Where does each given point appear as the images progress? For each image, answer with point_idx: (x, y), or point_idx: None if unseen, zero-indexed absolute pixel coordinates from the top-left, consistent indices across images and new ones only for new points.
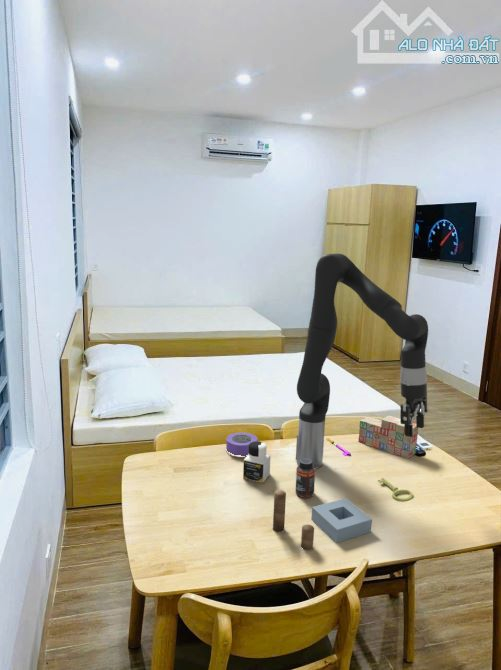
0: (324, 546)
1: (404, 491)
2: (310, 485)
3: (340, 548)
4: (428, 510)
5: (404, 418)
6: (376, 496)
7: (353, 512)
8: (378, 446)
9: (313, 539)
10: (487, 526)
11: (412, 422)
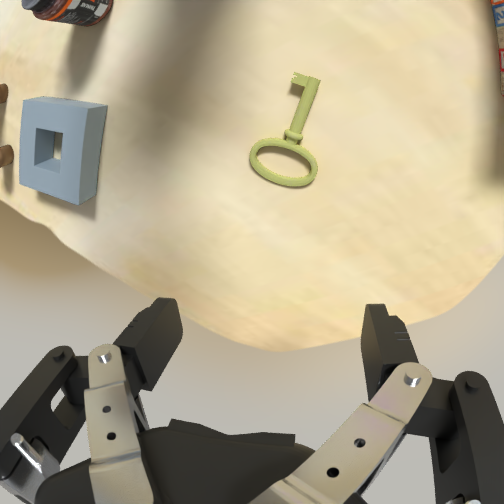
0: None
1: (306, 158)
2: (67, 22)
3: None
4: (269, 241)
5: (89, 380)
6: (223, 110)
7: (64, 163)
8: (494, 2)
9: (2, 165)
10: (301, 338)
11: (138, 406)
